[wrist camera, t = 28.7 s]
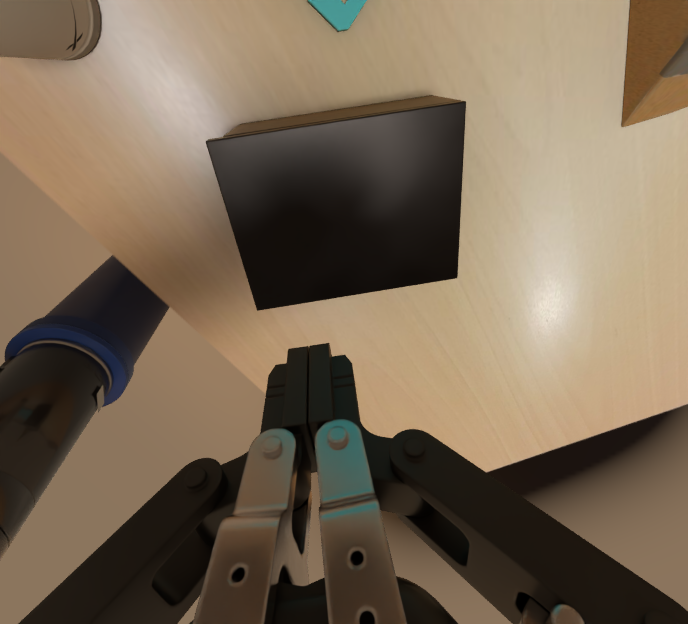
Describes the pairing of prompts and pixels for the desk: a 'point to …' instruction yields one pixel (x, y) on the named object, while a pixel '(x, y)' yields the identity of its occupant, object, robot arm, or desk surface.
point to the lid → (345, 203)
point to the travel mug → (48, 28)
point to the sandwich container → (656, 60)
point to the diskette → (338, 11)
